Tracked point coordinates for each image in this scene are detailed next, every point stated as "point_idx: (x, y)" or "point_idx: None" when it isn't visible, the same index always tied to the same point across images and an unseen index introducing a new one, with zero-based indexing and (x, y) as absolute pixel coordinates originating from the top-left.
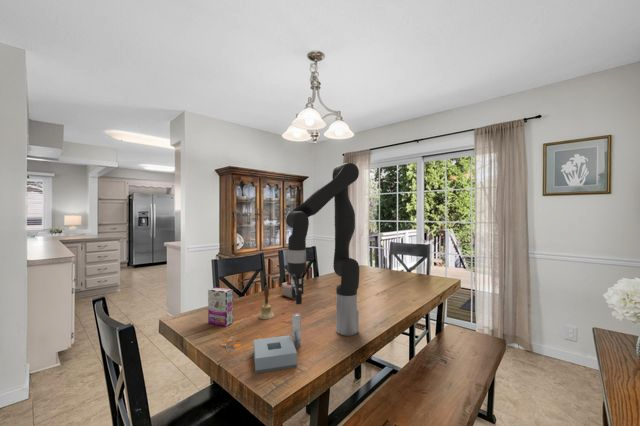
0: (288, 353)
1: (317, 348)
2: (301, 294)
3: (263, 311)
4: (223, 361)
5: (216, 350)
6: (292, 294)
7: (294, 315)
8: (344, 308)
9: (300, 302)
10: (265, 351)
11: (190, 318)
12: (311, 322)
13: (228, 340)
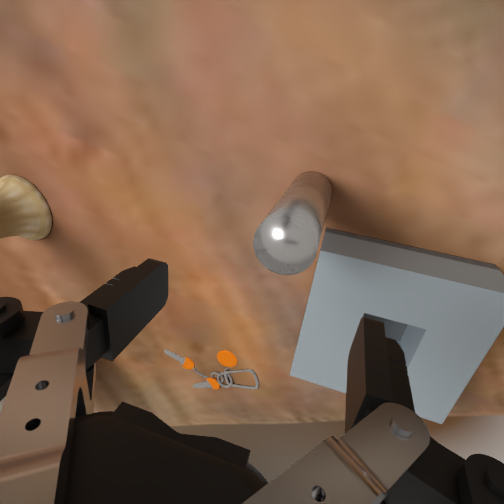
0: (497, 329)
1: (401, 110)
2: (411, 420)
3: (14, 233)
4: (306, 411)
5: (237, 404)
6: (149, 320)
7: (284, 261)
8: None
9: (397, 350)
10: (410, 382)
11: None
12: (103, 15)
13: (188, 366)
